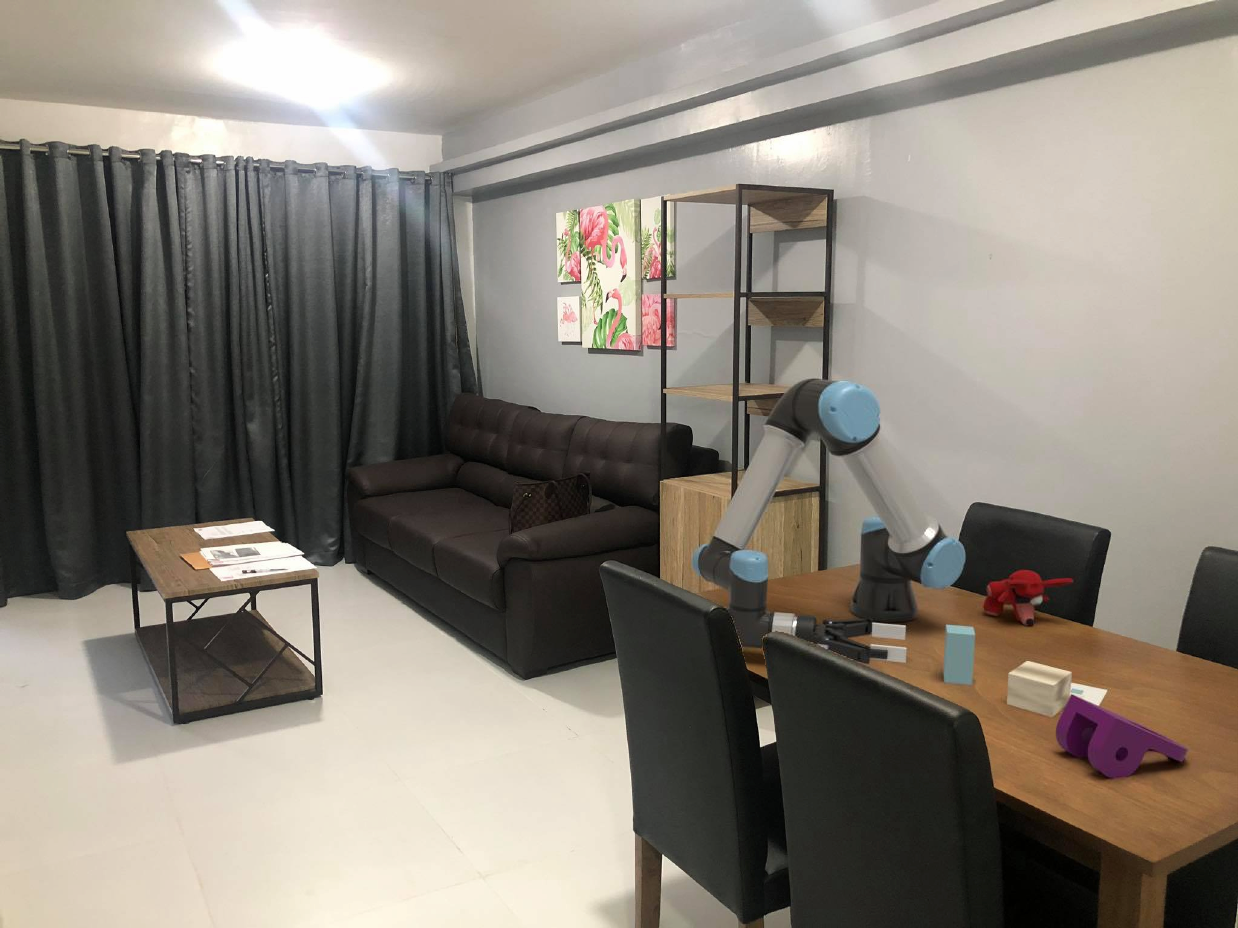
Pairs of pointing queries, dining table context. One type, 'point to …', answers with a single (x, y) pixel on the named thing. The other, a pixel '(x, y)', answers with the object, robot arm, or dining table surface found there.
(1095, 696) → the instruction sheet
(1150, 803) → the dining table surface
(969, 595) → the dining table surface
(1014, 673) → the birch base brick
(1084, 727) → the mounting bracket
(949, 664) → the teal brick
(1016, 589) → the toy
